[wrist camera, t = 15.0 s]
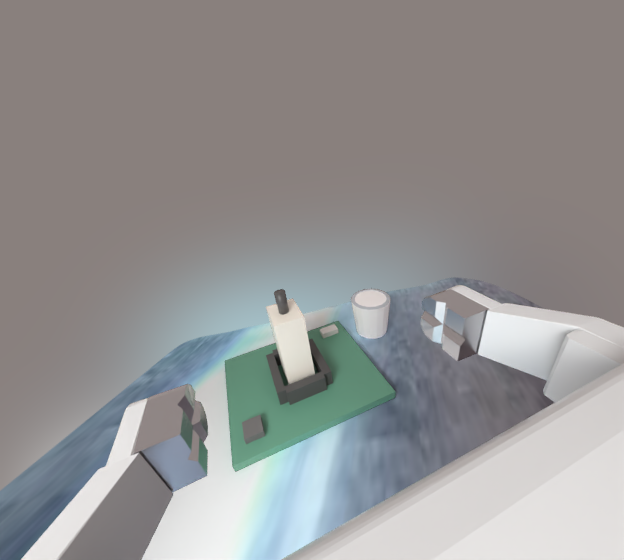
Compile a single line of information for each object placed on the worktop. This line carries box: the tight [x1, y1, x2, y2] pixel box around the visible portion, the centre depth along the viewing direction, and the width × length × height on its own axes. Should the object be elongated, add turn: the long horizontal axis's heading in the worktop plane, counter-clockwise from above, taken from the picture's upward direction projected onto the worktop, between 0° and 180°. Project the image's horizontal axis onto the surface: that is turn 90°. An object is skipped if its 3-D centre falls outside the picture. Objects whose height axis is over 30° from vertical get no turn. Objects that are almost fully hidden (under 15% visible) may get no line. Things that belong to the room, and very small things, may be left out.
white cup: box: [351, 289, 390, 339], centre depth 46 cm, size 7×7×7 cm
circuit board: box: [225, 321, 395, 472], centre depth 39 cm, size 22×18×4 cm
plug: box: [266, 289, 315, 385], centre depth 36 cm, size 4×5×15 cm
